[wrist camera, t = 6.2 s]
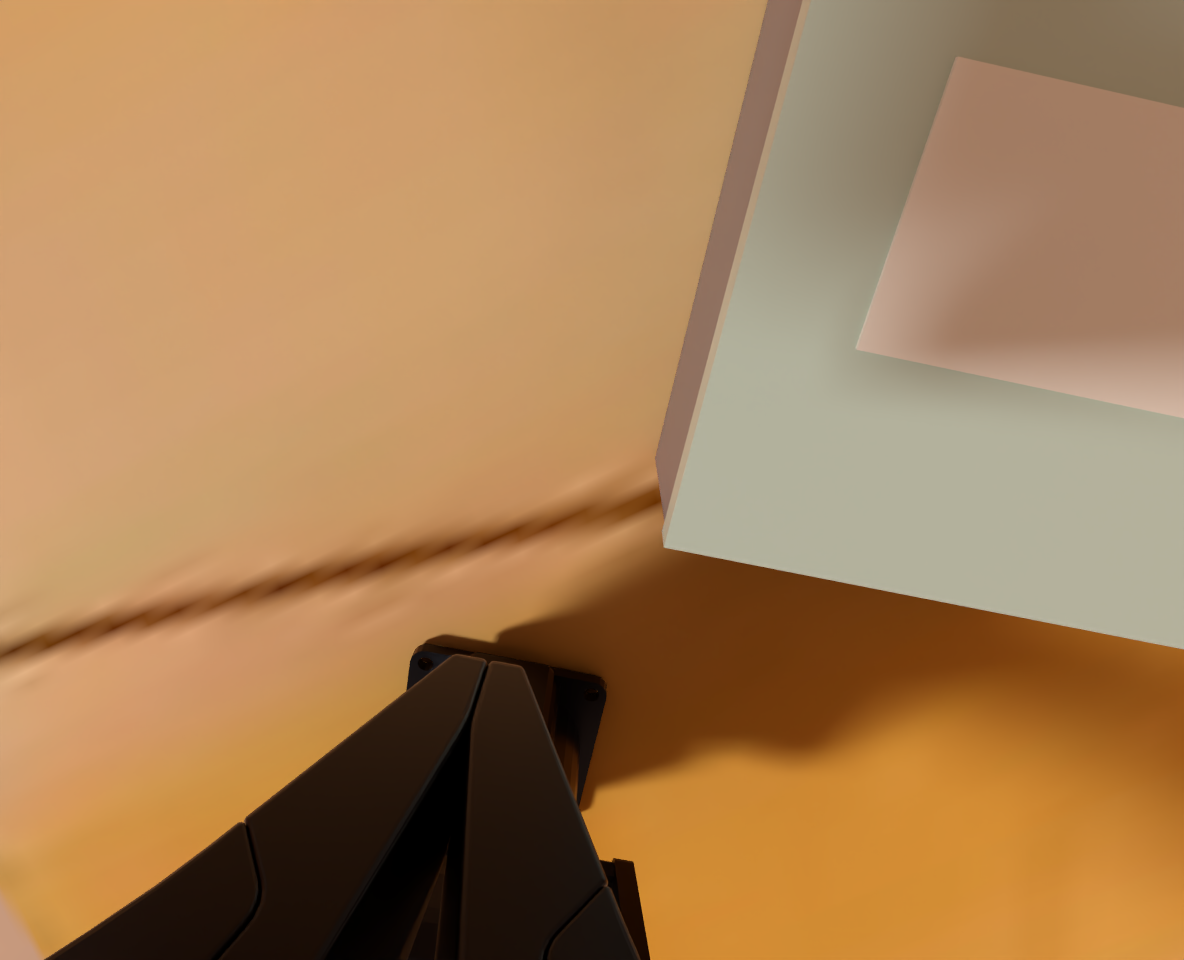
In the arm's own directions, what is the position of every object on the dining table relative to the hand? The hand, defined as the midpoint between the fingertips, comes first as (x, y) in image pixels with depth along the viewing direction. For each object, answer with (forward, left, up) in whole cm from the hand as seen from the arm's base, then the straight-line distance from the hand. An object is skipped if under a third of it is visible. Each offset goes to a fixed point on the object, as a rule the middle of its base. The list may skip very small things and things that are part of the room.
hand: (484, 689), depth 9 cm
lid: (+5, -9, -8) cm, 13 cm away
